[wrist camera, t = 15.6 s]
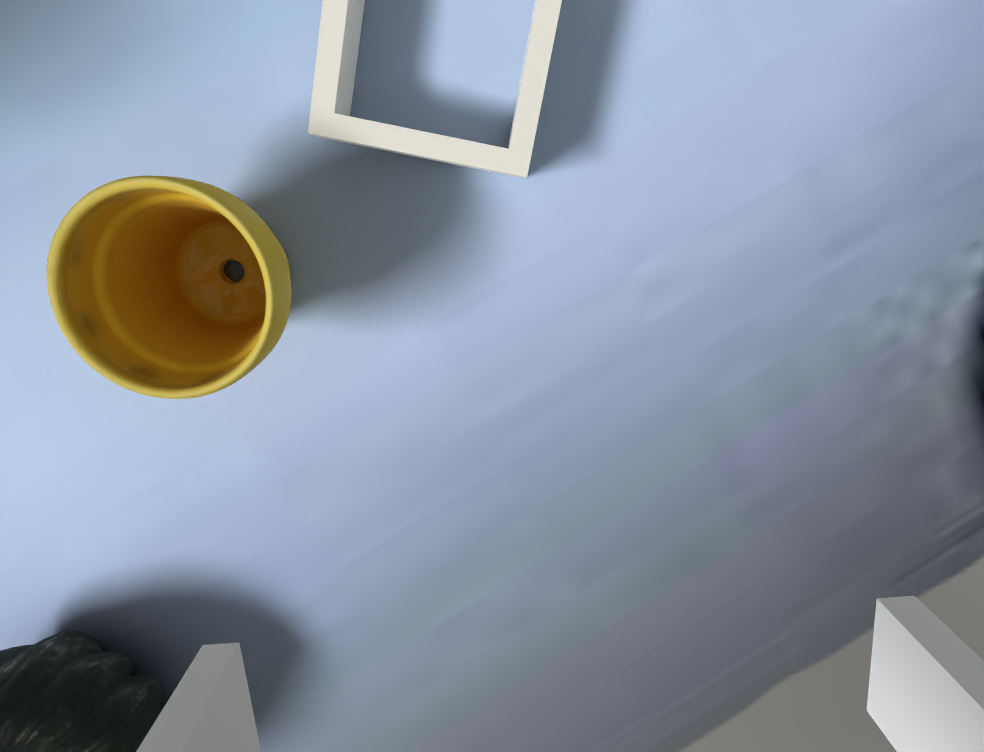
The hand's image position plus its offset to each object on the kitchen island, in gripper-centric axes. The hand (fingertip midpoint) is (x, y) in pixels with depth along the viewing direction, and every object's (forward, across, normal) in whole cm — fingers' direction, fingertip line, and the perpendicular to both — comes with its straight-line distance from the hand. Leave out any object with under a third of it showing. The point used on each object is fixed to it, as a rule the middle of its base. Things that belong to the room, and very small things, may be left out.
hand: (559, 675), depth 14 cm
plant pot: (+29, -16, +6) cm, 34 cm away
